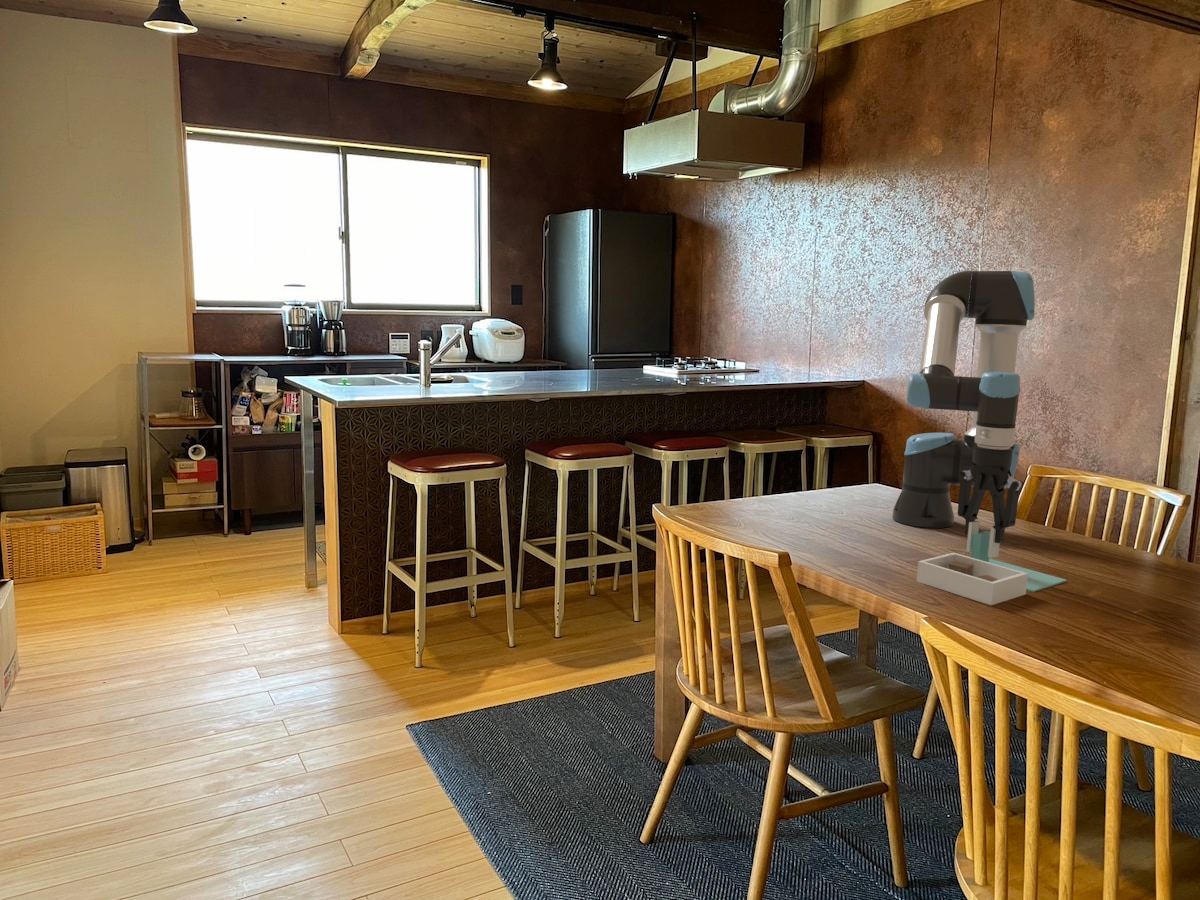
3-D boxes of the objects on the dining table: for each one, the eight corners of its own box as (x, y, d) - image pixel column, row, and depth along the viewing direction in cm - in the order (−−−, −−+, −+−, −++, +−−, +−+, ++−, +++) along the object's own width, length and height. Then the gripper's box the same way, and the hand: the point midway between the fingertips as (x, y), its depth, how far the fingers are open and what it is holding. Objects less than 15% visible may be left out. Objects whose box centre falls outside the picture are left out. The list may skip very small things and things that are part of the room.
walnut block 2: (986, 592, 168) (988, 575, 167) (999, 598, 165) (1001, 580, 164) (971, 593, 167) (973, 576, 166) (985, 599, 163) (987, 582, 163)
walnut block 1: (954, 576, 177) (956, 560, 176) (971, 581, 175) (973, 564, 174) (947, 580, 175) (949, 563, 174) (964, 584, 172) (966, 567, 171)
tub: (951, 575, 180) (953, 552, 180) (1025, 598, 168) (1028, 573, 167) (916, 585, 174) (918, 561, 173) (990, 609, 161) (993, 583, 160)
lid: (989, 564, 190) (993, 527, 188) (1065, 586, 176) (1070, 546, 175) (956, 574, 182) (960, 535, 181) (1032, 597, 169) (1037, 556, 168)
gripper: (945, 441, 185) (935, 546, 189) (1023, 454, 171) (1011, 567, 175) (966, 438, 189) (955, 541, 193) (1043, 451, 175) (1030, 561, 179)
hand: (982, 553), depth 184 cm, fingers open, 4 cm apart
